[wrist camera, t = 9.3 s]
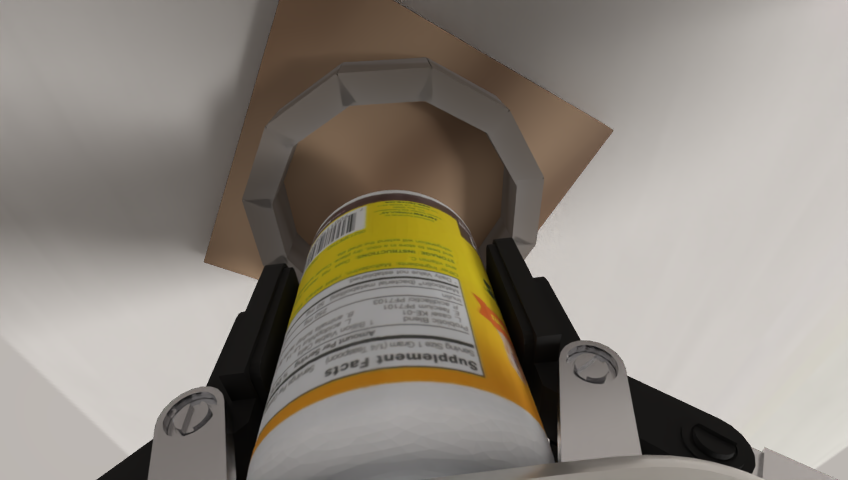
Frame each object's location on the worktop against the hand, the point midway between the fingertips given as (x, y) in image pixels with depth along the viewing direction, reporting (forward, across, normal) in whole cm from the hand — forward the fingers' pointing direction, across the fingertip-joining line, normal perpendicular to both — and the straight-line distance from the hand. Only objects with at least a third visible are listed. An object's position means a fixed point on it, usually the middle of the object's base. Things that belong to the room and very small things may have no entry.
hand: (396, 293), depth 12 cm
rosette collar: (+7, 0, 0) cm, 7 cm away
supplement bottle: (+2, 0, 0) cm, 2 cm away
